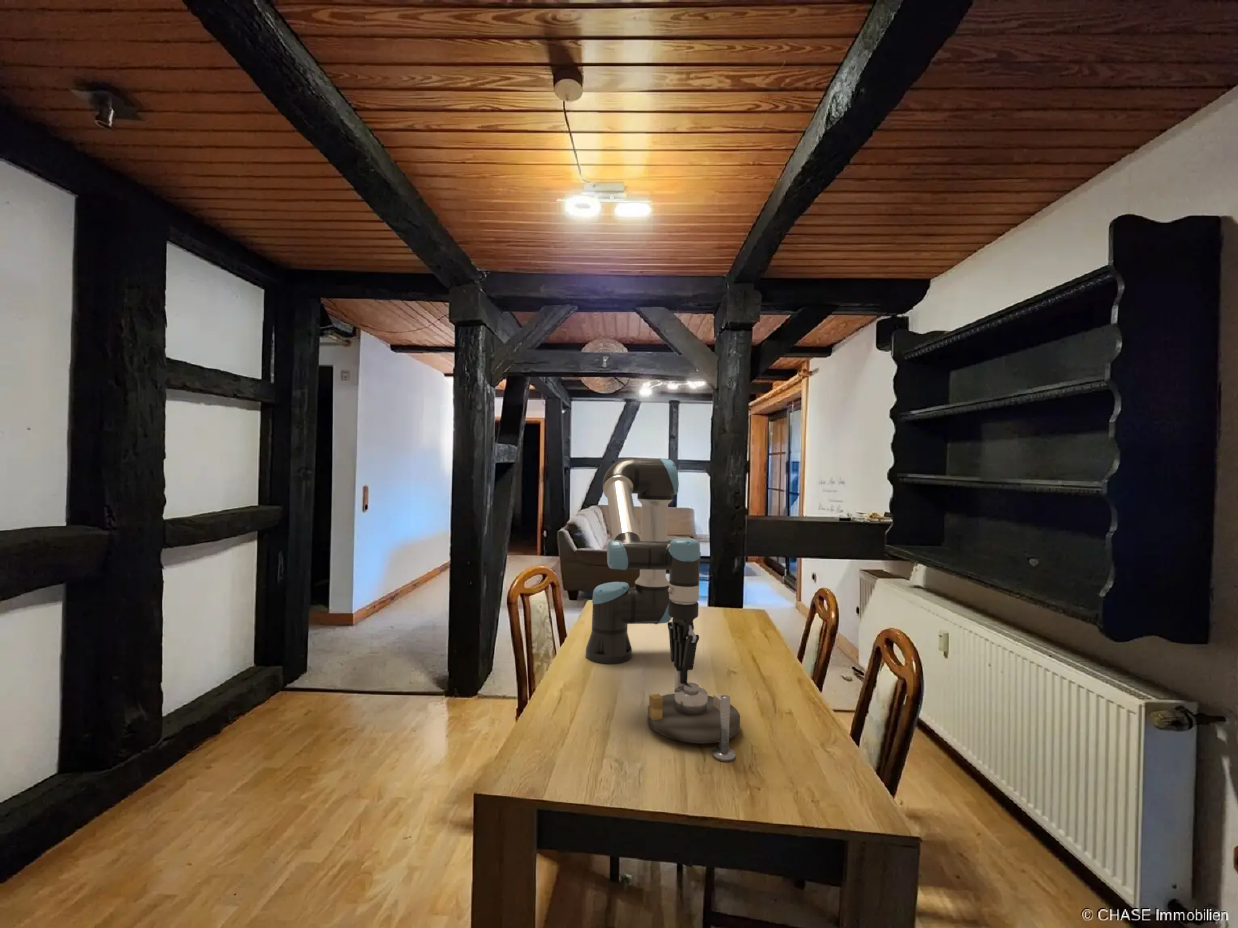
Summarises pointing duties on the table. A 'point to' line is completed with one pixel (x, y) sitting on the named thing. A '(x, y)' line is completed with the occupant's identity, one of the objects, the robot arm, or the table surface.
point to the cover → (690, 699)
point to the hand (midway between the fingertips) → (680, 694)
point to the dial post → (723, 729)
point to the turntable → (688, 721)
